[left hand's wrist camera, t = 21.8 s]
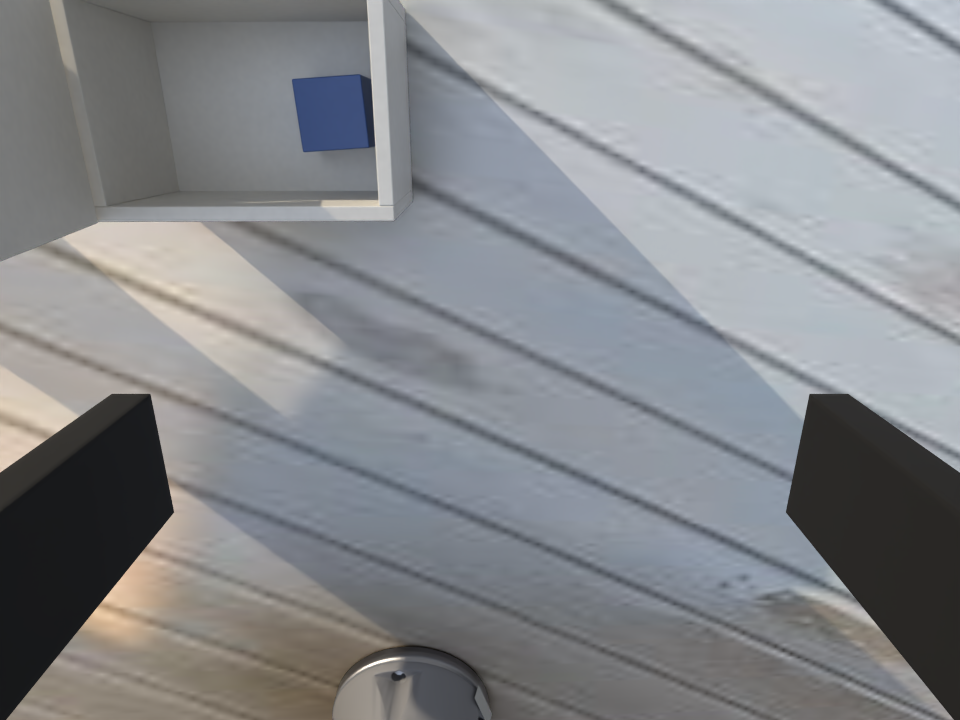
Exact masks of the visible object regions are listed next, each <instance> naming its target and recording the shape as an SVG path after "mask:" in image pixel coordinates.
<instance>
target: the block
mask: <svg viewBox="0 0 960 720" xmlns="http://www.w3.org/2000/svg"><path fill="white" fill-rule="evenodd" d="M292 85H293V91H294V98H295V104H296V110H297V117H298V123H299V129H300V136H301V142H302V149H303V152H316V151H330V150H345V149H360V148H371V147H375V131H374V114H373V97H372V81H371V79H370V78H367V77H365V76H363V75H360V74H354V75H340V76H326V77H312V78H298V79H292Z"/></svg>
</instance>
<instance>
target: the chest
mask: <svg viewBox="0 0 960 720" xmlns="http://www.w3.org/2000/svg"><path fill="white" fill-rule="evenodd" d="M49 2H50V6H51V11H52V15H53V20H54V24H55V29H56V34H57V38H58V43H59V47H60V52H61V56H62V61H63V66H64V70H65V75H66V79H67V84H68V88H69V93H70V98H71V102H72V107H73V111H74V116H75V120H76V125H77V129H78V134H79V139H80V143H81V148H82V152H83V157H84V161H85V166H86V171H87V175H88V180H89V184H90V189H91V193H92V198H93V203H94V207H95V212H96V216H97V221H98V222H260V221H395V220H396V219H397V218H398V217H399V215H400V214H401V213H402V212H403V211H404V210H405V209H406V208H407V207H408V206H409V205H410V204H411V203H412V202H413V193H412V168H411V143H410V118H409V93H408V68H407V43H406V18H405V8H404V7H403V5H402V4H401V2H400V1H399V0H49ZM354 74H360V75H363V76H365V77H367V78H370V79H371V81H372V97H373V114H374V131H375V147H371V148H360V149H345V150H330V151H316V152H303V149H302V142H301V136H300V129H299V123H298V117H297V110H296V104H295V98H294V91H293V85H292V79H298V78H312V77H326V76H340V75H354Z"/></svg>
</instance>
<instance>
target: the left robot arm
mask: <svg viewBox="0 0 960 720" xmlns="http://www.w3.org/2000/svg"><path fill="white" fill-rule="evenodd" d="M173 513H174V510H173V505H172V500H171V495H170V490H169V485H168V480H167V475H166V470H165V465H164V460H163V455H162V450H161V445H160V440H159V435H158V430H157V425H156V420H155V415H154V410H153V405H152V400H151V395H150V394H111V395H110V396H108V397H107V398H106V399H104V400H103V401H101V402H100V403H98V404H97V405H96V406H94V407H93V408H91V409H90V410H89V411H87V412H86V413H84V414H83V415H81V416H80V417H79V418H77V419H76V420H74V421H73V422H71V423H70V424H69V425H67V426H66V427H64V428H63V429H62V430H60V431H59V432H57V433H56V434H54V435H53V436H52V437H50V438H49V439H47V440H46V441H45V442H43V443H42V444H40V445H39V446H37V447H36V448H35V449H33V450H32V451H30V452H29V453H28V454H26V455H25V456H23V457H22V458H20V459H19V460H18V461H16V462H15V463H13V464H12V465H10V466H9V467H8V468H6V469H5V470H3V471H2V472H1V473H0V720H6V719H7V718H8V717H9V715H10V714H11V713H12V712H13V710H14V709H15V708H16V707H17V706H18V704H19V703H20V702H21V701H22V699H23V698H24V697H25V696H26V694H27V693H28V692H29V691H30V689H31V688H32V687H33V686H34V685H35V683H36V682H37V681H38V680H39V678H40V677H41V676H42V675H43V673H44V672H45V671H46V670H47V669H48V667H49V666H50V665H51V664H52V662H53V661H54V660H55V659H56V657H57V656H58V655H59V654H60V652H61V651H62V650H63V649H64V648H65V646H66V645H67V644H68V643H69V641H70V640H71V639H72V638H73V636H74V635H75V634H76V633H77V631H78V630H79V629H80V628H81V627H82V625H83V624H84V623H85V622H86V620H87V619H88V618H89V617H90V615H91V614H92V613H93V612H94V610H95V609H96V608H97V607H98V606H99V604H100V603H101V602H102V601H103V599H104V598H105V597H106V596H107V594H108V593H109V592H110V591H111V589H112V588H113V587H114V586H115V585H116V583H117V582H118V581H119V580H120V578H121V577H122V576H123V575H124V573H125V572H126V571H127V570H128V569H129V567H130V566H131V565H132V564H133V562H134V561H135V560H136V559H137V557H138V556H139V555H140V554H141V552H142V551H143V550H144V549H145V548H146V546H147V545H148V544H149V543H150V541H151V540H152V539H153V538H154V536H155V535H156V534H157V533H158V531H159V530H160V529H161V528H162V527H163V525H164V524H165V523H166V522H167V520H168V519H169V518H170V517H171V515H172V514H173ZM786 513H787V514H788V515H789V517H790V518H791V519H792V520H793V522H794V523H795V524H796V525H797V527H798V528H799V529H800V530H801V531H802V533H803V534H804V535H805V536H806V538H807V539H808V540H809V541H810V543H811V544H812V545H813V546H814V548H815V549H816V550H817V551H818V552H819V554H820V555H821V556H822V557H823V559H824V560H825V561H826V562H827V564H828V565H829V566H830V567H831V569H832V570H833V571H834V572H835V573H836V575H837V576H838V577H839V578H840V580H841V581H842V582H843V583H844V585H845V586H846V587H847V588H848V589H849V591H850V592H851V593H852V594H853V596H854V597H855V598H856V599H857V601H858V602H859V603H860V604H861V606H862V607H863V608H864V609H865V610H866V612H867V613H868V614H869V615H870V617H871V618H872V619H873V620H874V622H875V623H876V624H877V625H878V627H879V628H880V629H881V630H882V631H883V633H884V634H885V635H886V636H887V638H888V639H889V640H890V641H891V643H892V644H893V645H894V646H895V648H896V649H897V650H898V651H899V652H900V654H901V655H902V656H903V657H904V659H905V660H906V661H907V662H908V664H909V665H910V666H911V667H912V669H913V670H914V671H915V672H916V673H917V675H918V676H919V677H920V678H921V680H922V681H923V682H924V683H925V685H926V686H927V687H928V688H929V689H930V691H931V692H932V693H933V694H934V696H935V697H936V698H937V699H938V701H939V702H940V703H941V704H942V706H943V707H944V708H945V709H946V710H947V712H948V713H949V714H950V715H951V717H952V718H953V719H954V720H960V473H959V472H958V471H957V470H955V469H954V468H952V467H951V466H950V465H948V464H947V463H945V462H944V461H942V460H941V459H940V458H938V457H937V456H935V455H934V454H932V453H931V452H930V451H928V450H927V449H925V448H924V447H923V446H921V445H920V444H918V443H917V442H915V441H914V440H913V439H911V438H910V437H908V436H907V435H906V434H904V433H903V432H901V431H900V430H898V429H897V428H896V427H894V426H893V425H891V424H890V423H889V422H887V421H886V420H884V419H883V418H881V417H880V416H879V415H877V414H876V413H874V412H873V411H871V410H870V409H869V408H867V407H866V406H864V405H863V404H862V403H860V402H859V401H857V400H856V399H854V398H853V397H852V396H850V395H849V394H810V395H809V400H808V405H807V410H806V415H805V420H804V425H803V430H802V435H801V440H800V445H799V450H798V455H797V460H796V465H795V470H794V475H793V480H792V485H791V490H790V495H789V500H788V505H787V510H786ZM491 717H492V712H491V710H490V708H489V698H488V694H487V691H486V688H485V686H484V684H483V682H482V681H481V679H480V678H479V677H478V675H477V674H476V673H475V672H474V671H473V670H472V669H471V668H470V667H468V666H467V665H466V664H465V663H463V662H462V661H460V660H458V659H457V658H455V657H453V656H451V655H448V654H446V653H443V652H440V651H437V650H433V649H428V648H422V647H397V648H391V649H386V650H382V651H379V652H376V653H373V654H371V655H369V656H367V657H365V658H363V659H362V660H360V661H359V662H357V663H356V664H355V665H353V666H352V667H351V668H350V669H349V670H348V672H347V673H346V674H345V675H344V677H343V678H342V680H341V682H340V684H339V687H338V690H337V694H336V698H335V702H334V706H333V713H332V718H333V720H491Z"/></svg>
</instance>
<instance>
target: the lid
mask: <svg viewBox="0 0 960 720" xmlns="http://www.w3.org/2000/svg"><path fill="white" fill-rule="evenodd" d="M96 223H98V221H97V216H96V212H95V207H94V203H93V198H92V193H91V189H90V184H89V180H88V175H87V171H86V166H85V161H84V157H83V152H82V148H81V143H80V139H79V134H78V129H77V125H76V120H75V116H74V111H73V107H72V102H71V98H70V93H69V88H68V84H67V79H66V75H65V70H64V66H63V61H62V56H61V52H60V47H59V43H58V38H57V34H56V29H55V24H54V20H53V15H52V11H51V6H50V2H49V0H0V261H3V260H5V259H8V258H10V257H13V256H15V255H18V254H20V253H23V252H25V251H28V250H31V249H33V248H36V247H38V246H41V245H43V244H46V243H48V242H51V241H53V240H56V239H58V238H61V237H63V236H66V235H68V234H71V233H74V232H76V231H79V230H81V229H84V228H86V227H89V226H91V225H94V224H96Z"/></svg>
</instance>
